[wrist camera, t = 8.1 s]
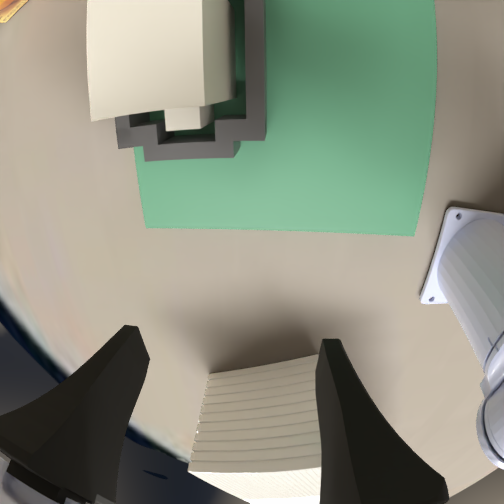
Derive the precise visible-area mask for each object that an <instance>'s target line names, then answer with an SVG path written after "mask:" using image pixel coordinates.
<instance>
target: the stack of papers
mask: <svg viewBox="0 0 504 504" xmlns="http://www.w3.org/2000/svg"><path fill="white" fill-rule="evenodd" d="M318 357H319V355H318V354H316V355H312V356H308V357H303V358H298V359H294V360H289V361H284V362H279V363H274V364H268V365H263V366H257V367H251V368H245V369H239V370H233V371H226V372H219V373H211V374H209V376H208V380H209V381H207V385H206V388H207V389H205V394H204V396H205V398H203V403H202V404H203V405H204V406H202V407H201V412H200V413H201V414H202V415H200V416H199V421H198V422H199V423H200V424H198V425H197V430H196V431H197V432H198V433H196V435H195V439H194V441H196V443H194V444H193V449H192V450H193V451H194V453H191V458H190V460H191V461H192V463H189V467H188V472H190V473H192V474H193V475H195V476H197V477H199V478H201V479H202V480H204V481H206V482H208V483H210V484H212V485H214V486H216V487H218V488H220V489H222V490H224V491H226V492H228V493H230V494H232V495H234V496H236V497H238V498H241V499H243V500H245V501H247V502H250V503H252V504H319V501H320V486H321V438H320V429H319V421H318V412H317V403H316V395H315V370H316V366H317V362H318Z"/></svg>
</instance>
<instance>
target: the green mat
mask: <svg viewBox="0 0 504 504" xmlns="http://www.w3.org/2000/svg"><path fill="white" fill-rule="evenodd" d="M228 1H229V3H230V4H231V6H232V7H233V9H234V11H235V56H236V96H237V98H235V99H231V100H227V101H223V102H219V103H215V104H214V122H212V123H210V124H208V125H206V126H204V127H203V128H201V129H188V130H175V131H174V134H175V136H179V135H195V134H215V120H216V119H218V118H220V117H222V116H224V115H246V72H245V8H244V0H228ZM265 2H266V66H267V135H266V138H265V141H240V149H239V151H238V152H237V154H236V155H235V157H234V158H209V159H182V160H164V161H149V162H145V160H144V152H143V146H139V147H134V154H135V162H136V169H137V176H138V183H139V190H140V196H141V202H142V208H143V214H144V220H145V225H146V228H189V229H241V230H278V231H308V232H334V233H357V234H378V235H398V236H414V235H415V231H416V227H417V222H418V218H419V213H420V209H421V204H422V199H423V194H424V189H425V183H426V177H427V171H428V165H429V158H430V151H431V144H432V135H433V126H434V115H435V102H436V83H437V35H436V17H435V5H434V0H265ZM149 115H150V121H153V120H162V119H165V111H164V110H158V111H151V112H149Z"/></svg>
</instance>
